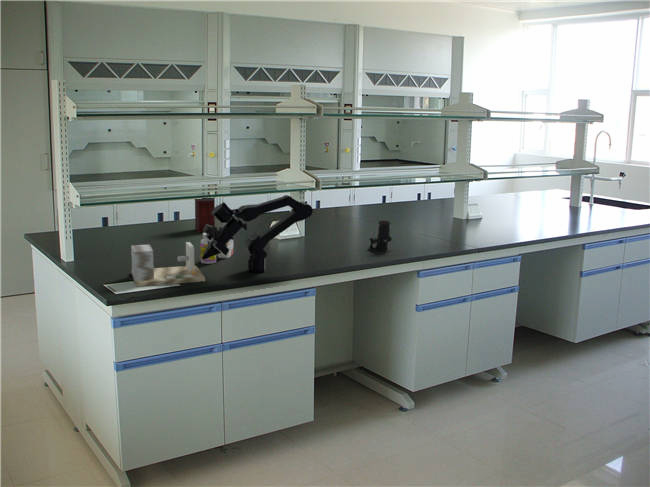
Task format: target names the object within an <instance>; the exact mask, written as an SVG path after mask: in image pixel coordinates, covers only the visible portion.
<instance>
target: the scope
mask: <svg viewBox="0 0 650 487" xmlns="http://www.w3.org/2000/svg"><path fill="white" fill-rule="evenodd" d="M378 224H379V225H378V230H377V231H378V233H377V237H375V238H374V237H373V232H370V237H369V243H368V244H369V247H368V248H369V249H370V250H371V251H372V252H375V251H377V250H378V251H381V252H382V251H383V252H384V251H385V252H386V251H388V245H389V244H388V243H389V242H391V241H392V239H393V238H392V236H390V234H391V233H390V232H391V231H390V229H391V228H390V225H391V221H389V220H379V221H378Z"/></svg>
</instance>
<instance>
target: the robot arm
mask: <svg viewBox="0 0 650 487" xmlns="http://www.w3.org/2000/svg"><path fill="white" fill-rule="evenodd" d="M285 207H289V208H291V210H290V211H289V213H288V214H287V215H286V216H284V217H283V218H281V219H279V221H277V222H276V223H274V224H272V225H271V226H270V227H269V228H267V229H266V230H265V231H264V232H262V233H257V232H253V233H252V234H251V235H250V236H248V237H246V240H245V241H244V249H245V250H247V252H248V253H249V258H248V261H247V262H248V263H247V265H248V266H247V269H248V272H249V273H265V272H266V270H267V267H266V258H267V256H268V253H267V251H265V250H264V249H265V248H266V247H267V245H268V243H269V242H270V241H272V240H273V239H274V238H276V237H277V236H279V235H280V234H281V233H283V232H285V231H286V230H287V229H288V228H290V227H291V226H293V225H294V224H295V223H298V222H302V221H304V220H306V219H308V218H310V217H311V216H312V215H313V211H314V209H313V207H312V206H311V205H310V204H308V203H306V202H303V201H298V200H296V199H294V198H293V196H290V195H287V194H284V195H283V196H281V197H278V198H274V199H271V200H267V201H263V202H261V203H257V204H256V203H255V204H246V205H245V204H244V205H241V206H239V207H238V208H233V209H231V208H230V207H229V206H228V205H227V203H226V202H225V201H223V202H222V203H220V204H218V205H217V206H215V208H214V209H213V211H212V215H213V216H214V217H215V219H217V221H218V222H220V223H221V224H224V223H225V224H224V225H223V226H220V227H217V226H216V225H215V226H210V225H208V224H206V225H205V227H204V229H203V231H204V233H206V234H207V235H206V237H207V238H208V239H209V240H210V241H208V240H207V241H208V246H207V248H206V250H205V252H204V254H203V256H202V259H203V260H204V259H207V258H209V257H212V256H214V255H216V256H218V254H219V253H220V254H221V252H222V253H223V254H224V255H225V256H226V255H227V254H228V253H229V249H228V248H227V247H226V246H227V245H226V244H227V243H228V242H229V241H230V240H233V241H234V239H235V238H234V237H235V236H236V235H237V234H238V232H240V230H242V229H243V230H244V231H248V224H247V223H249V222H252V221H253V220H255V219H258V217H260V216H261V215H263V214H265V213H270V212H273V211H275V210H278V209H281V208H285ZM235 217H236V218H235ZM246 222H247V223H246ZM220 251H221V252H220Z"/></svg>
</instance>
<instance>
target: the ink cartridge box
mask: <svg viewBox="0 0 650 487" xmlns="http://www.w3.org/2000/svg"><path fill="white" fill-rule="evenodd" d="M226 245H227V246H226V247H227V248H228V249H229V253H228V254H227V255H226V256H225V255H224V254H223V253H222V252H221V251H220V252H221V254H220V253H219V254H217V259H218V258H219V259H229V258H231V256H233V255H234V239H233V240H230V241H229V242H228V243H227V244H226Z"/></svg>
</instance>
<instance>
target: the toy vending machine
mask: <svg viewBox="0 0 650 487" xmlns="http://www.w3.org/2000/svg"><path fill="white" fill-rule="evenodd" d="M215 202H216V201H215V197H214V198H202V199H195V198H194V214H195V215H194V216H195V217H194V220H195V222H194V223H195V224H194V229H195V231H196V232H197V233H199V234H200V233H201V234H203V233H204V231H203V229H204V227H205V225H206V224H208V225H210V226H215V227H216V220H215V219H216V218H215V217H214V216H213V215H212V211H213V209H214V208H215V207H216V206H215V205H216V203H215Z"/></svg>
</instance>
